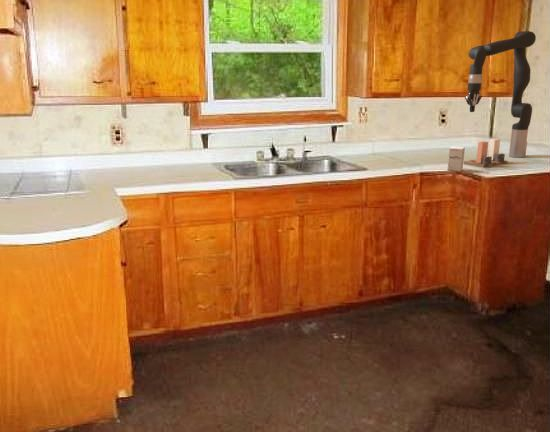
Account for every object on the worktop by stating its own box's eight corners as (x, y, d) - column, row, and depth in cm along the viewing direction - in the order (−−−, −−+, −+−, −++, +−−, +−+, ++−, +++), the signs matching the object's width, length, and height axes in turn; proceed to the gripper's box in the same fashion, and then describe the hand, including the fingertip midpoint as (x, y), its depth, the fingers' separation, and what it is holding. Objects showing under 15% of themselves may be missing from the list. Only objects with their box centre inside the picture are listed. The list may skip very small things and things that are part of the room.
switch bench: (488, 160, 326) (489, 151, 324) (507, 163, 315) (508, 154, 313) (463, 163, 315) (464, 154, 313) (483, 167, 304) (483, 157, 302)
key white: (493, 158, 320) (495, 138, 317) (498, 159, 318) (500, 139, 315) (488, 159, 318) (490, 139, 315) (492, 160, 315) (494, 139, 312)
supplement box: (447, 170, 297) (448, 147, 293) (449, 168, 303) (451, 146, 300) (460, 171, 294) (462, 148, 290) (463, 169, 300) (465, 146, 296)
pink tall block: (481, 161, 311) (483, 141, 308) (486, 162, 309) (488, 141, 306) (476, 162, 309) (478, 141, 306) (480, 163, 306) (482, 142, 303)
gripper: (472, 82, 308) (469, 113, 313) (487, 82, 315) (484, 111, 320) (462, 82, 315) (459, 112, 319) (476, 81, 321) (474, 110, 326)
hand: (472, 111), depth 320 cm, fingers closed
